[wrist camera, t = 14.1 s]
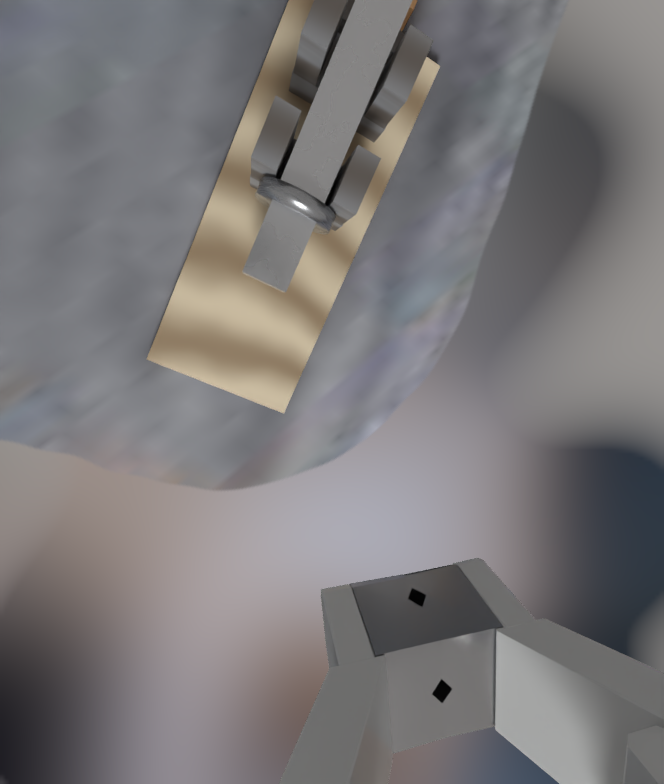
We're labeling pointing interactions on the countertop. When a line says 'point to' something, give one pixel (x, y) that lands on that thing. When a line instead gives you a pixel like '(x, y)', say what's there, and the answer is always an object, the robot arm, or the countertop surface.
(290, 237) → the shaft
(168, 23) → the countertop surface
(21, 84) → the countertop surface
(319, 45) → the wooden board
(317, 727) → the robot arm
